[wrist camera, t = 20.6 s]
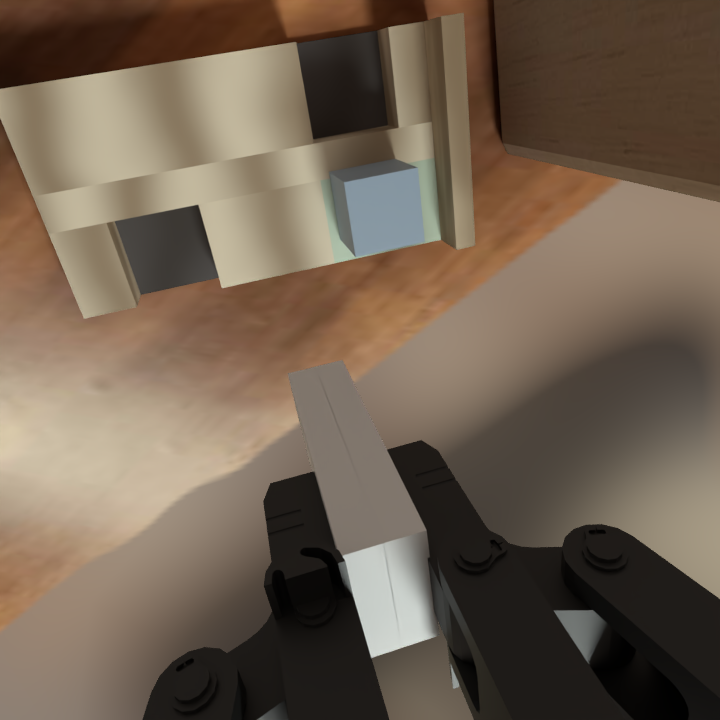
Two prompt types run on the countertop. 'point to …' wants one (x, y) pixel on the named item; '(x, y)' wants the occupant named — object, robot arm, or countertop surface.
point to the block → (614, 88)
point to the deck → (239, 157)
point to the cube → (378, 206)
